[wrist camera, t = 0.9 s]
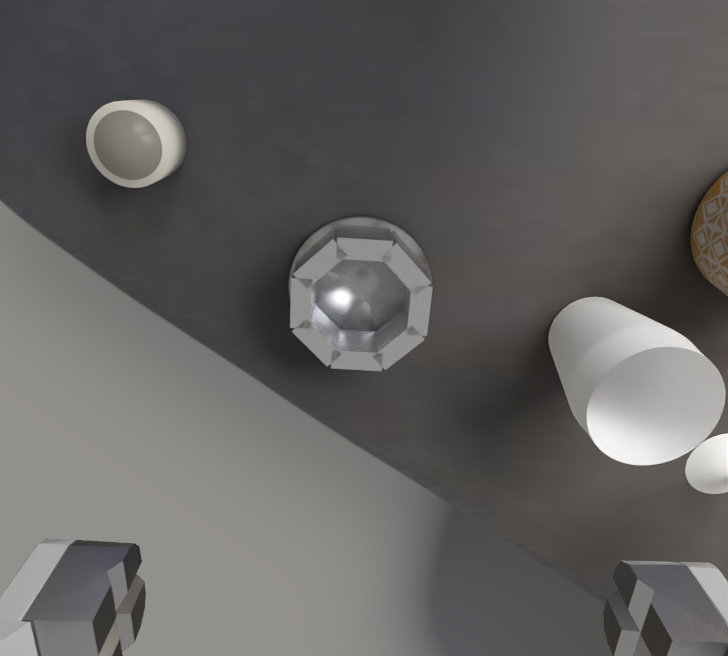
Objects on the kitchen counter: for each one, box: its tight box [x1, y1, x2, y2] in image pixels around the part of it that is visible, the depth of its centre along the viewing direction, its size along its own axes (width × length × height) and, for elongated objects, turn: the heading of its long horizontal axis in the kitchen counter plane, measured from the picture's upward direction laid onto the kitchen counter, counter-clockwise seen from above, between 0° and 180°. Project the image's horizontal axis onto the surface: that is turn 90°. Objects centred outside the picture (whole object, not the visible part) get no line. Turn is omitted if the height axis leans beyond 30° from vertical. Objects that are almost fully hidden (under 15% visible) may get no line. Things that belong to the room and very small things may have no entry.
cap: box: [86, 99, 187, 188], centre depth 40 cm, size 6×6×4 cm
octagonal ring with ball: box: [289, 215, 433, 371], centre depth 44 cm, size 11×11×5 cm
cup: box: [548, 297, 725, 465], centre depth 43 cm, size 9×9×12 cm
